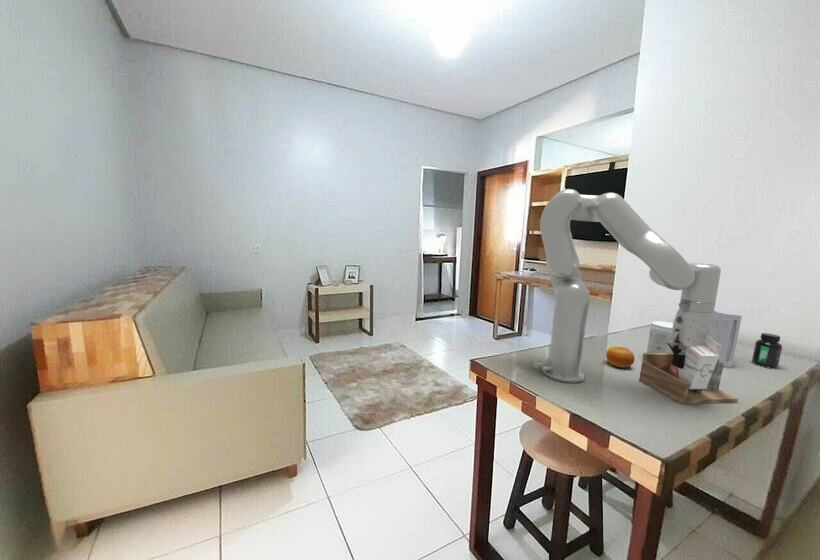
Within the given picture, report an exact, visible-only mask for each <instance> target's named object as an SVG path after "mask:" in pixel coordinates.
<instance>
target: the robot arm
mask: <svg viewBox="0 0 820 560" xmlns="http://www.w3.org/2000/svg"><path fill="white" fill-rule="evenodd" d="M572 220H573V221H581V222H595V223H597V222H598V223H600V224H601V225H602V226H603V227H604V228H605V229H606V230H607V231H608V233H609V234H610V235H611V236H612V237H613V238H614V239H615V240H616V242H617V243H618V244H619V245H620V246H621V247H622V248H624V250H626V251H627V252H629V253H630V254H632V255H634V256H636V257H637V258H638V259H639V260H641V261H642V262H643V263H644V264H645V265H646V266H647V267H648V268H650V269H649V272H648V273H649V274H648V276H649V278H650V280H651V281H652V282H653V283H654V284H657V285H659V286H661V287H664V288H666V289H668V290H673V291H681V296H680V301H679V303H678V307H679V308H678V309H677V311H676V314H675V318H674V320H673V322H672V323H673V327H672V333H671V336H670V337H669V338H668V340H667V341H666V343H667V345H668V346H669V347H670V348H671V350H672V352H673V359H672V365H673V366H676V367H678V368H680V369H683V368H684V362H685V356H684V355H683V354H684V352H685V350H686V347H694V346H705V341H707V342H708V343H709V344H711V345H713V344H712V343H711V342H710V341H709V340H707V339H706V337H705V335H707V336H709V337H710V338H711V339H713V340H714V341H715V338H716V327H717V321H716V313H714V309H715V305H716V302H717V297H718V296H717V295H718V291H719V290H718V289H719V283H720V278H721V270H722V269H721V268H720V266H719V265H716V264H712V263H711V264H710V263H698V262H697V263H696V262H695V263H694V262H693V263H689V262H688V261H687V260H686V259H685V258H684V257H683V256H682V255H681V254H680V253H679V252H678V251H677V249H675V247H673V246H672V245H671V244H670V243H668V241H667V240H665V239H664V238H663V237H661V236H660V234H658V233H657V232H656V231H655V230H653V228H651V227H650V226H649V225H648V224H647V223H646V221H645V220H643V218H642V217H641V216H640V215H639V214H638V213H637V212H636V211H635V210H634V209H633V208H632V207H631V205H630V204H629V203H628V202H627V201H626V200H625V199H624V198H623V197H622V196H621V195H620V194H618V193H615V192H606V193H602V194H600V195H595V194H594V195H593V194H580V193H579V192H578V191H577V190H575V189H571V188H565V189H562V190H560V191H558V192H557V193H556V194H555V195H554V196H553V197H552V198H550V200H549V201H548V202H547V203H546V204H545V206H544V209H543V211H542V213H541V216H540V222H539V227H540V228H539V229H540V235H541V239H542V243H543V249H544V252H545V256H546V260H545V262H546V263H545V264H546V268H547V271H548V275H549V279H550V282H551V287H552V290H553V293H554V295H555V304H554V310H553V311H554V312H553V319H552V327H551V336H550V338H551V339H550V344H549V346H550V347H549V355H548V357H546V358H545V361H542V362H541V361H534V362H533V363H534V364H533V366H534V368H535V369H541V370H542V372H543V374H544V375H546V376H547V377H549V378H550V379H552V380H556V381H559V382H564V383H571V384H575V383H576V384H577V383H582V382H584V380H585V374H584V372H582V371H581V364H582V363H581V362H582V355H583V348H584V341H585V340H584V339H585V333H586V332H585V331H586V324H587V316H588V312H589V309H590V304H591V303H590V302H591V295H590V291H589V289H588V287H587V286H586V285H585V284H584V283H583V279H582V276H581V272H580V269H579V267H580V259H579V256H578V254H577V251H576V247H575V244H574V240H573V235H572V231H571V221H572ZM679 345H680V346H682V347H681V349H679Z"/></svg>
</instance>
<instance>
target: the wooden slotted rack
mask: <svg viewBox="0 0 820 560" xmlns="http://www.w3.org/2000/svg"><path fill="white" fill-rule="evenodd" d="M672 359H673V353H647V352H643V354H642V360H641V368H640V371H639V381H641V382H642V383H644V384H646V385H647V386H649V387H651V388H653V389H655V390H656V391H658V392H660V393H662V394H663V393H664V395H665V394H666V395H665V396H667V397H669V398H671V399H673V400H674V401H675V402H678V403H679V404H681V405H693V404H694V405H695V404H696V405H697V404H699V405H700V404H702V405H704V404H735V403H739V398H737V397H736V396H733V395H731V394H729V393H727V392H725V391H722V390H721V389H720V384H721V379H722V374H723V369H724V366H723V365H724V363H722V362H720V361H719V359H718V361H717V363H716V366H715V368H714V371H713V373H712V375H711V378H710V380H709V383H708V385H707V388H706V389H689V384H690V383H688V382H686V381H684V380H682V379H679V378H677V377H676V376H675V375H674V374H673V373H672V372H671V371H669V369H670V366H671V364H672Z"/></svg>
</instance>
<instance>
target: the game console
mask: <svg viewBox="0 0 820 560" xmlns="http://www.w3.org/2000/svg"><path fill="white" fill-rule="evenodd" d="M714 313H716V321H717V327H716V338H715V341H716V342H717V343H718V344H720V345H721V346H722V348H721V351H720V354H719V361H720V362H722V363H724V365H723V368H732V366H733V362H734V356H735V352H736V347H737V343H738V342H737V341H738V336H739V332H740V327H741V323H742V319H743V318H742V317H743V315H741V314H738V313H736V312H732V311H731V310H728V309H725V308H724V307H722V306H718V305H716V304H715V309H714Z"/></svg>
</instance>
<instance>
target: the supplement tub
mask: <svg viewBox="0 0 820 560" xmlns="http://www.w3.org/2000/svg"><path fill="white" fill-rule="evenodd" d="M673 323H674V322H670V321H669V322H668V321H663V320H660V321H659V320H655V321H651V323H650V328H649V334H648V335H649V336H648V341H647V350H646V353H673V352H672V350H671V348H670V347H669V346H668V345H667V343H666V341H667V340H668V338H669V337H670V336H671V333H672V327H673Z"/></svg>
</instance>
